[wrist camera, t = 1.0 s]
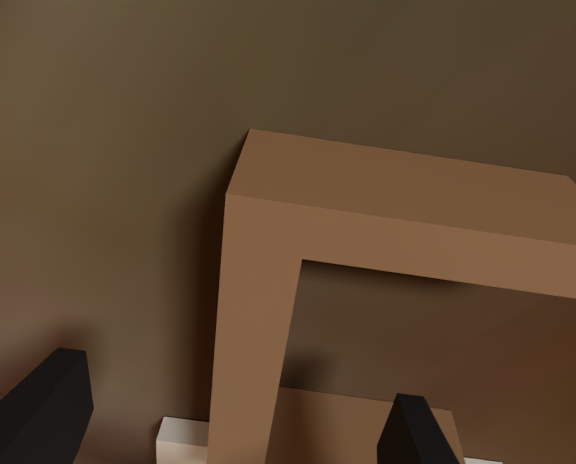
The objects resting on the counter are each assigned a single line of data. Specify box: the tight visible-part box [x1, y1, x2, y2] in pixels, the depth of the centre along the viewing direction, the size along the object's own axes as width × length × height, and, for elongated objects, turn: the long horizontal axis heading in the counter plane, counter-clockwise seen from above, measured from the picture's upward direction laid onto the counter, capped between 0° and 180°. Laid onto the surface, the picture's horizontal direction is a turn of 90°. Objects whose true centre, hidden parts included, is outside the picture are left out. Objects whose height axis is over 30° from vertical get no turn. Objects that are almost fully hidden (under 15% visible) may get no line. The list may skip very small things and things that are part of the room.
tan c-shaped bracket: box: [206, 129, 576, 464], centre depth 13 cm, size 8×10×4 cm
